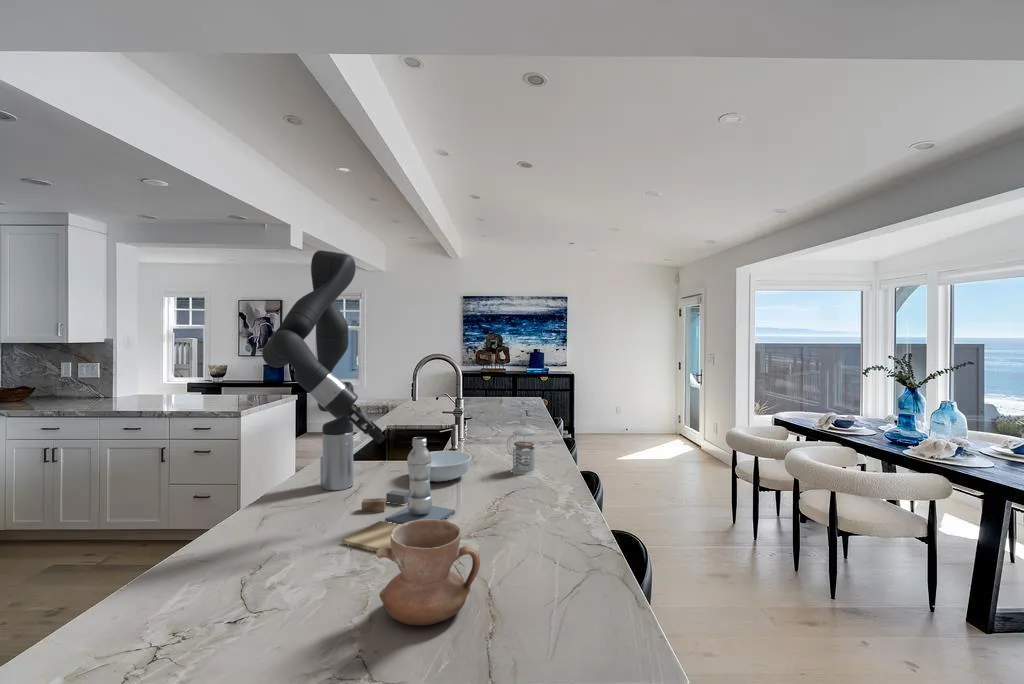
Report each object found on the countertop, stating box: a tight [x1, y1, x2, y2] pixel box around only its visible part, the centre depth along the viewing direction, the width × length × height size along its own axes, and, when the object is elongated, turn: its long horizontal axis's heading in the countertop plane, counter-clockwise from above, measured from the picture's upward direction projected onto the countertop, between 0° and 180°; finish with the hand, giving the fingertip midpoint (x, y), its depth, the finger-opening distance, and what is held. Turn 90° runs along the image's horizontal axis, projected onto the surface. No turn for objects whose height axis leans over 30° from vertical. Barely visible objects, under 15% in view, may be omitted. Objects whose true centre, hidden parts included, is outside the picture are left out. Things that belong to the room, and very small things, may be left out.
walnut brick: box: [361, 497, 387, 513], centre depth 139 cm, size 6×3×3 cm, turn 96°
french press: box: [506, 400, 538, 475], centre depth 179 cm, size 10×12×25 cm
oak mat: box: [341, 520, 399, 553], centre depth 120 cm, size 13×13×1 cm
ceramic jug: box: [376, 519, 481, 626], centre depth 89 cm, size 18×14×14 cm
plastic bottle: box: [406, 436, 433, 515], centre depth 133 cm, size 6×7×20 cm
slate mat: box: [384, 505, 456, 524], centre depth 133 cm, size 13×13×1 cm
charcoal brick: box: [385, 489, 409, 505], centre depth 145 cm, size 6×3×3 cm, turn 70°
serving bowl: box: [429, 450, 472, 483], centre depth 170 cm, size 21×21×7 cm
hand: (381, 437), depth 130 cm, fingers open, 8 cm apart
